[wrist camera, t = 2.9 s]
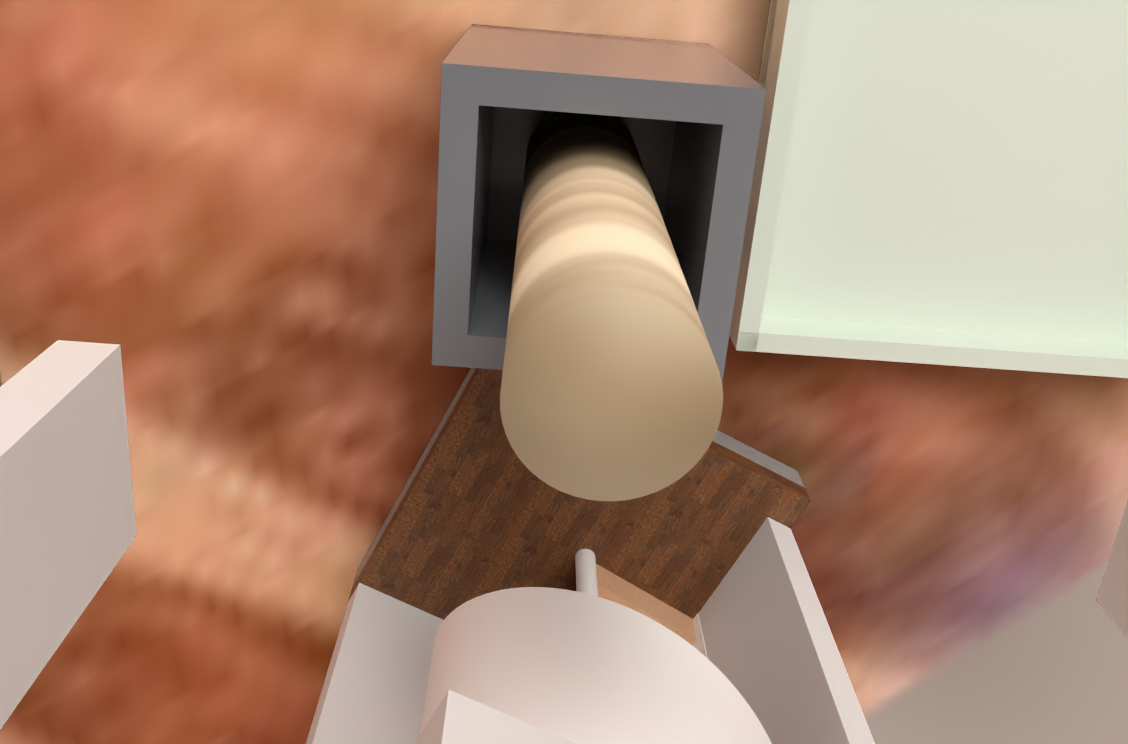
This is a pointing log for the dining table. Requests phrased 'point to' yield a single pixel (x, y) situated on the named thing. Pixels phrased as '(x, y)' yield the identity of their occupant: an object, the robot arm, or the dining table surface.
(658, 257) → the dowel
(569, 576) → the white coffee maker
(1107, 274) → the tray
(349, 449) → the dining table surface
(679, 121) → the pen cup
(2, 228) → the dining table surface
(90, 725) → the dining table surface
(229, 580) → the dining table surface
